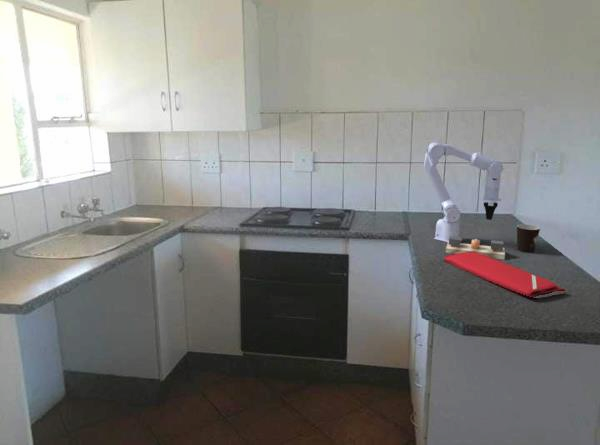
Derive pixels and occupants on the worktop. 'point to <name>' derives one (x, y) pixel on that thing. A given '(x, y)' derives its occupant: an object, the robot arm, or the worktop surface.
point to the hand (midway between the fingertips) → (488, 219)
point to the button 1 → (454, 240)
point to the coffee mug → (527, 237)
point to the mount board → (476, 250)
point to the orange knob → (475, 244)
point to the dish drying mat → (503, 274)
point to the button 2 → (497, 245)
